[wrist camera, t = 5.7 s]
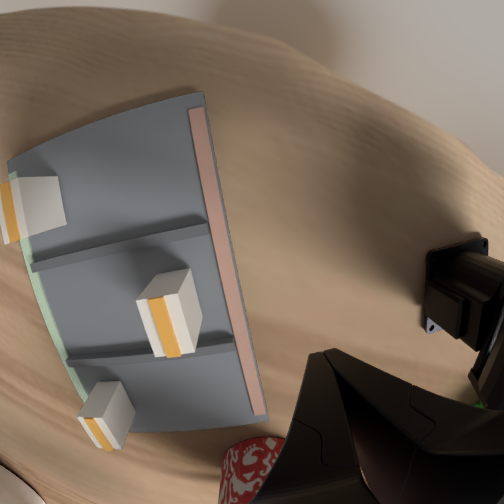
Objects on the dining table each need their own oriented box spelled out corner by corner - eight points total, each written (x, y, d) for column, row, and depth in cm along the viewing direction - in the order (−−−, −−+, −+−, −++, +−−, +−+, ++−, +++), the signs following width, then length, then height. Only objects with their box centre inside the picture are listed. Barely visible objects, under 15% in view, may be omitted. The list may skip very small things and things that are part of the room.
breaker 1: (57, 176, 15) (15, 177, 11) (66, 224, 16) (26, 237, 11) (34, 185, 15) (-8, 189, 11) (43, 231, 15) (2, 245, 11)
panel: (204, 95, 16) (200, 86, 14) (267, 412, 21) (270, 428, 19) (15, 161, 15) (0, 160, 14) (105, 423, 20) (99, 437, 19)
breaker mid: (190, 267, 17) (176, 295, 12) (202, 316, 17) (194, 354, 13) (156, 274, 16) (134, 302, 12) (170, 321, 17) (154, 359, 13)
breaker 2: (120, 381, 18) (100, 419, 14) (136, 411, 19) (121, 451, 15) (97, 381, 18) (75, 418, 14) (113, 412, 19) (96, 449, 15)
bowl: (22, 456, 22) (-2, 496, 14) (89, 528, 27) (79, 561, 19) (-52, 423, 22) (-73, 449, 14) (9, 497, 26) (-4, 522, 18)
